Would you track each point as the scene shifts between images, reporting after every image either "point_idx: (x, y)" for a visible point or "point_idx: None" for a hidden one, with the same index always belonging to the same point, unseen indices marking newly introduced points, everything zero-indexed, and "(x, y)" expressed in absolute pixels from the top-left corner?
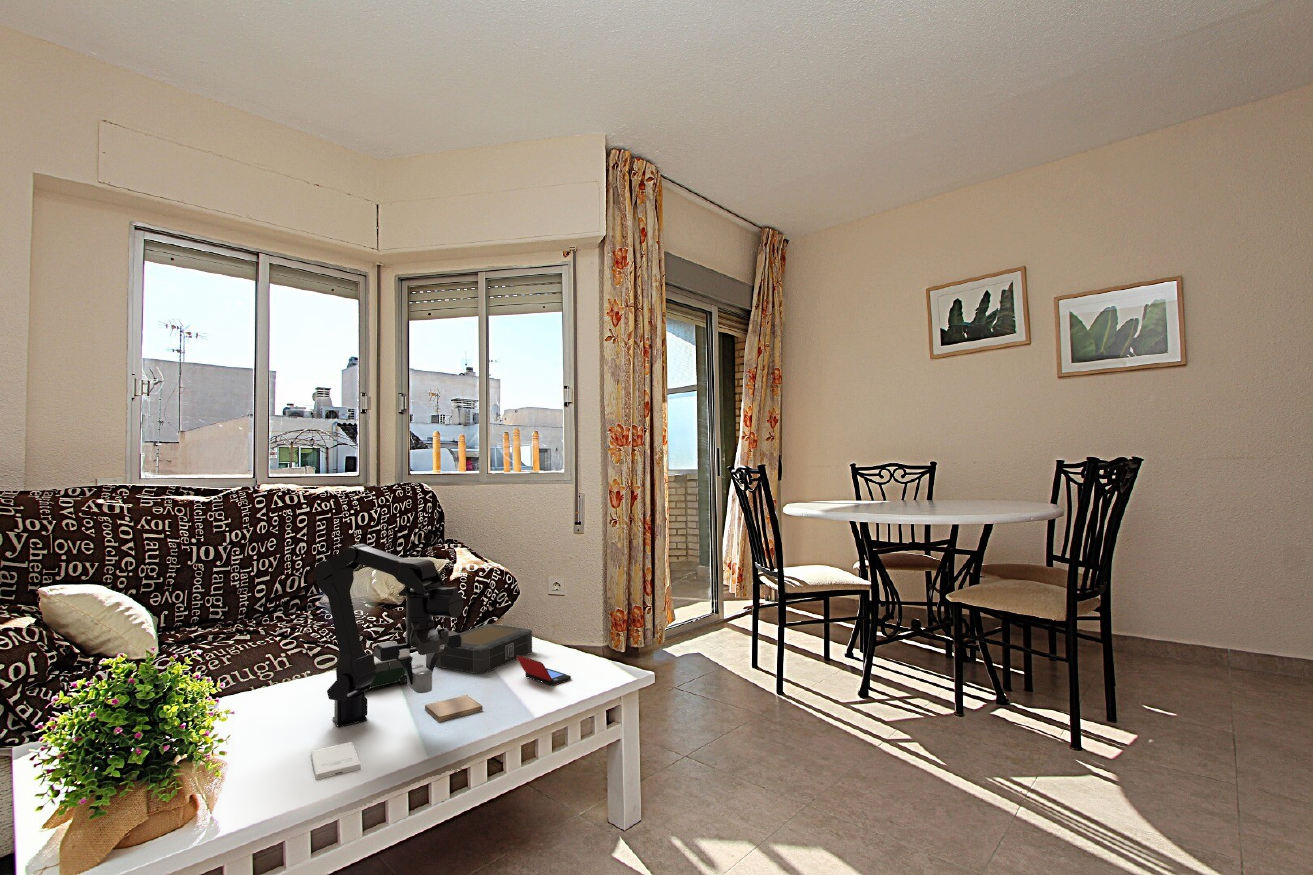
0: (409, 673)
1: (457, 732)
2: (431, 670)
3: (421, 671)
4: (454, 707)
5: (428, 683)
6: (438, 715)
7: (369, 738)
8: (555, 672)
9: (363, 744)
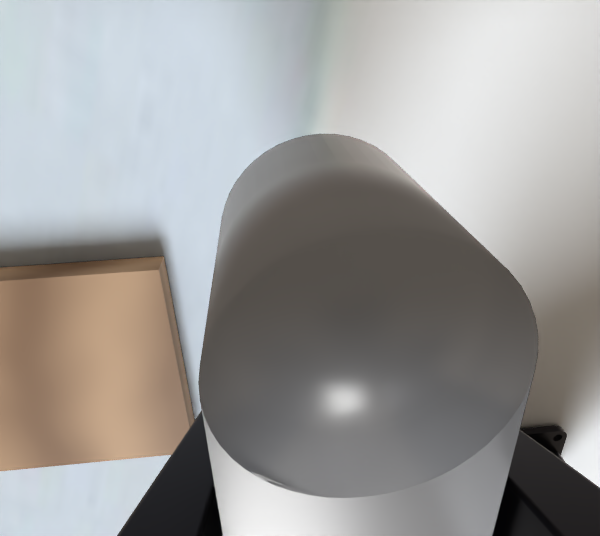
0: (564, 476)
1: (81, 9)
2: (173, 495)
3: (375, 469)
4: (47, 352)
5: (302, 175)
6: (158, 289)
7: (527, 247)
8: None
9: (582, 190)
